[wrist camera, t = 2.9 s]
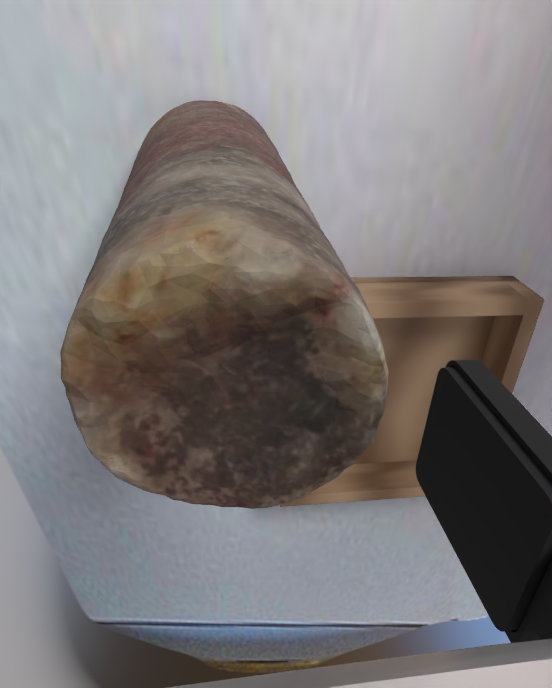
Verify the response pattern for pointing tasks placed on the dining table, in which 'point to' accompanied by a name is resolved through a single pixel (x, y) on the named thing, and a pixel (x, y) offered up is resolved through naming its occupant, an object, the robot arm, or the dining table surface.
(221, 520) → the dining table surface
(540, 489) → the robot arm
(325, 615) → the dining table surface
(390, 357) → the wooden tray
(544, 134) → the dining table surface
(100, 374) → the candle
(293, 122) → the dining table surface
